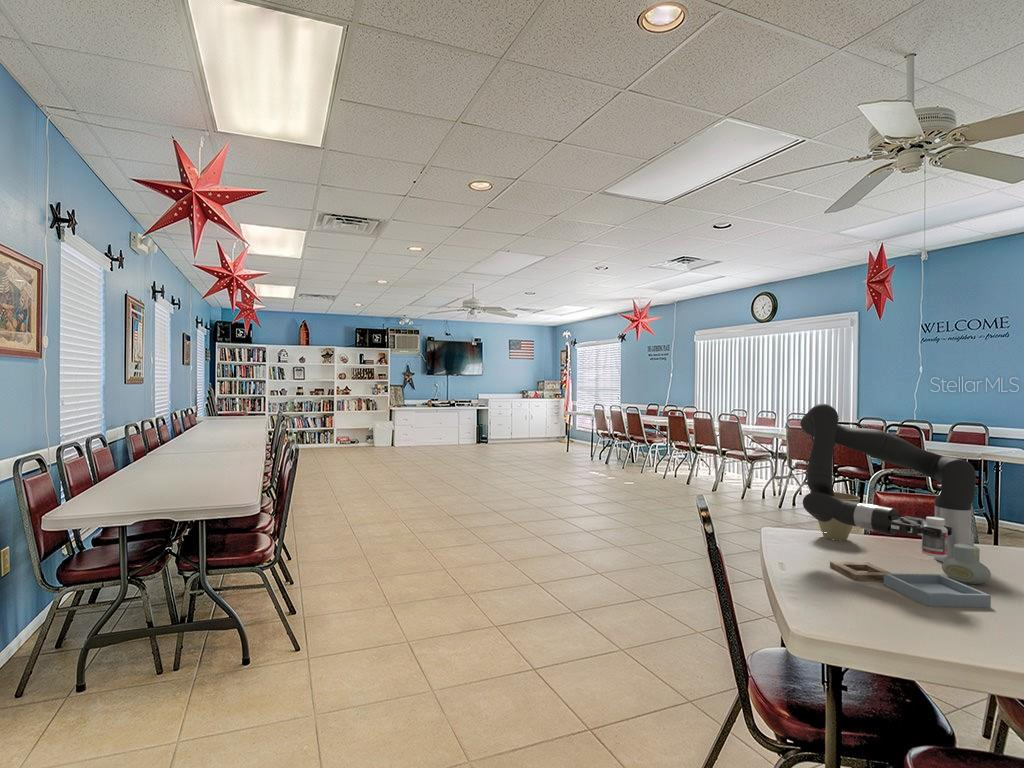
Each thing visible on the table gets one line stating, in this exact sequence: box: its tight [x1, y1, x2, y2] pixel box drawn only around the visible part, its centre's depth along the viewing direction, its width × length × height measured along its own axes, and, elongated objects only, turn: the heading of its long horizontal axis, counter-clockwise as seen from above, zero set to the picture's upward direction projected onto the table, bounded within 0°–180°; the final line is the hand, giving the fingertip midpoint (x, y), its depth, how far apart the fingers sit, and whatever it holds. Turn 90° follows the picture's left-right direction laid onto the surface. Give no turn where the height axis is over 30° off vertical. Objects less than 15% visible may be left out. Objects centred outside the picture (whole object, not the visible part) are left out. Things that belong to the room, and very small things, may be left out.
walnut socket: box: [829, 561, 891, 582], centre depth 164 cm, size 12×12×2 cm
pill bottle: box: [921, 516, 948, 558], centre depth 147 cm, size 5×5×10 cm
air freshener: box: [941, 544, 992, 585], centre depth 159 cm, size 11×8×10 cm
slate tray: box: [883, 572, 992, 608], centre depth 147 cm, size 16×16×3 cm
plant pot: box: [817, 491, 861, 542], centre depth 204 cm, size 15×15×16 cm
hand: (946, 532), depth 145 cm, fingers closed on pill bottle, 5 cm apart
